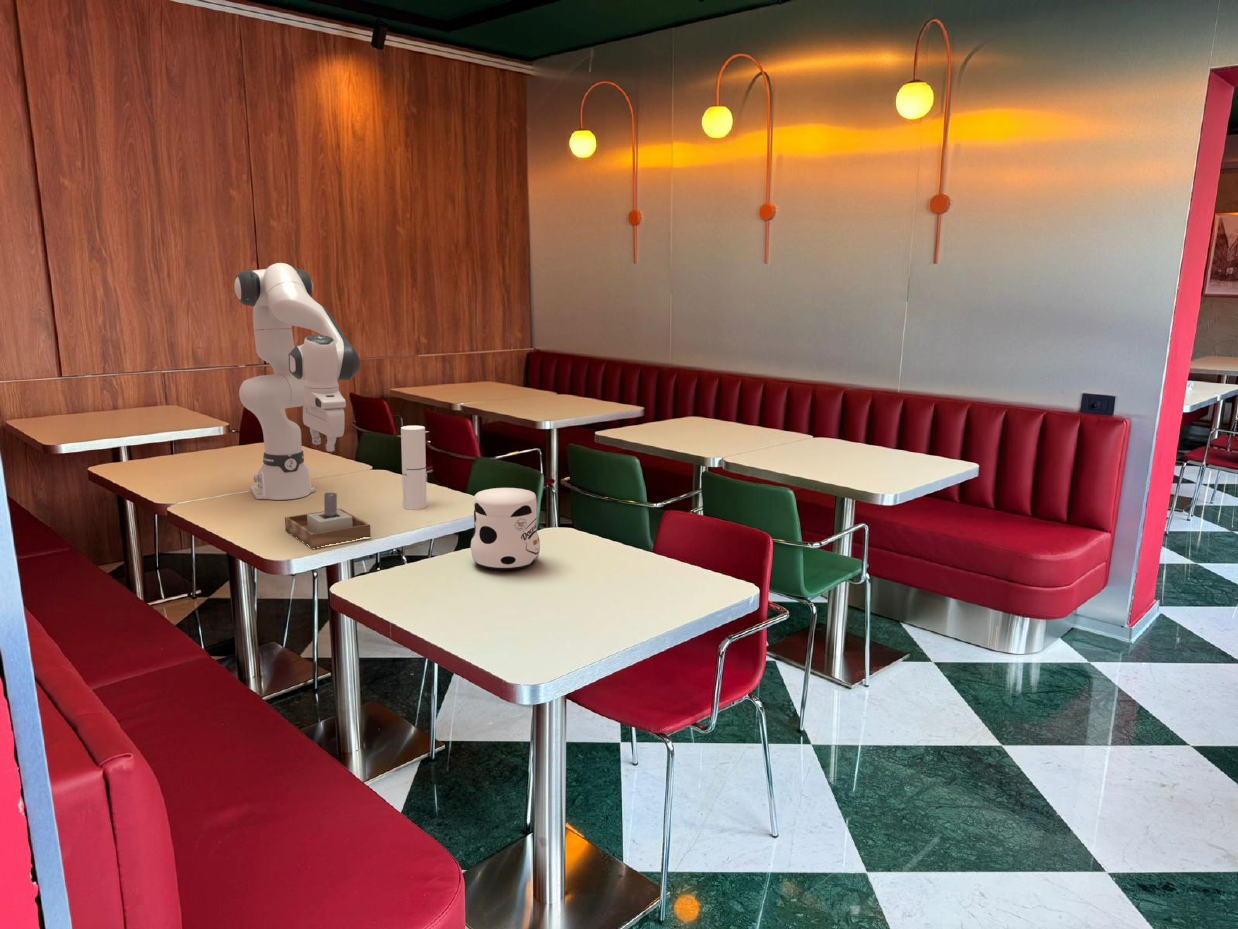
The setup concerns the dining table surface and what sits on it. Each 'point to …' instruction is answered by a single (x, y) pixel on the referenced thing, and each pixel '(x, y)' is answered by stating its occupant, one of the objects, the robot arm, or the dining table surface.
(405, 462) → the cylindrical container
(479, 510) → the milk container
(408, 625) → the dining table surface
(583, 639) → the dining table surface
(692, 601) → the dining table surface
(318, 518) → the plate
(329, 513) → the peg
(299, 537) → the box
